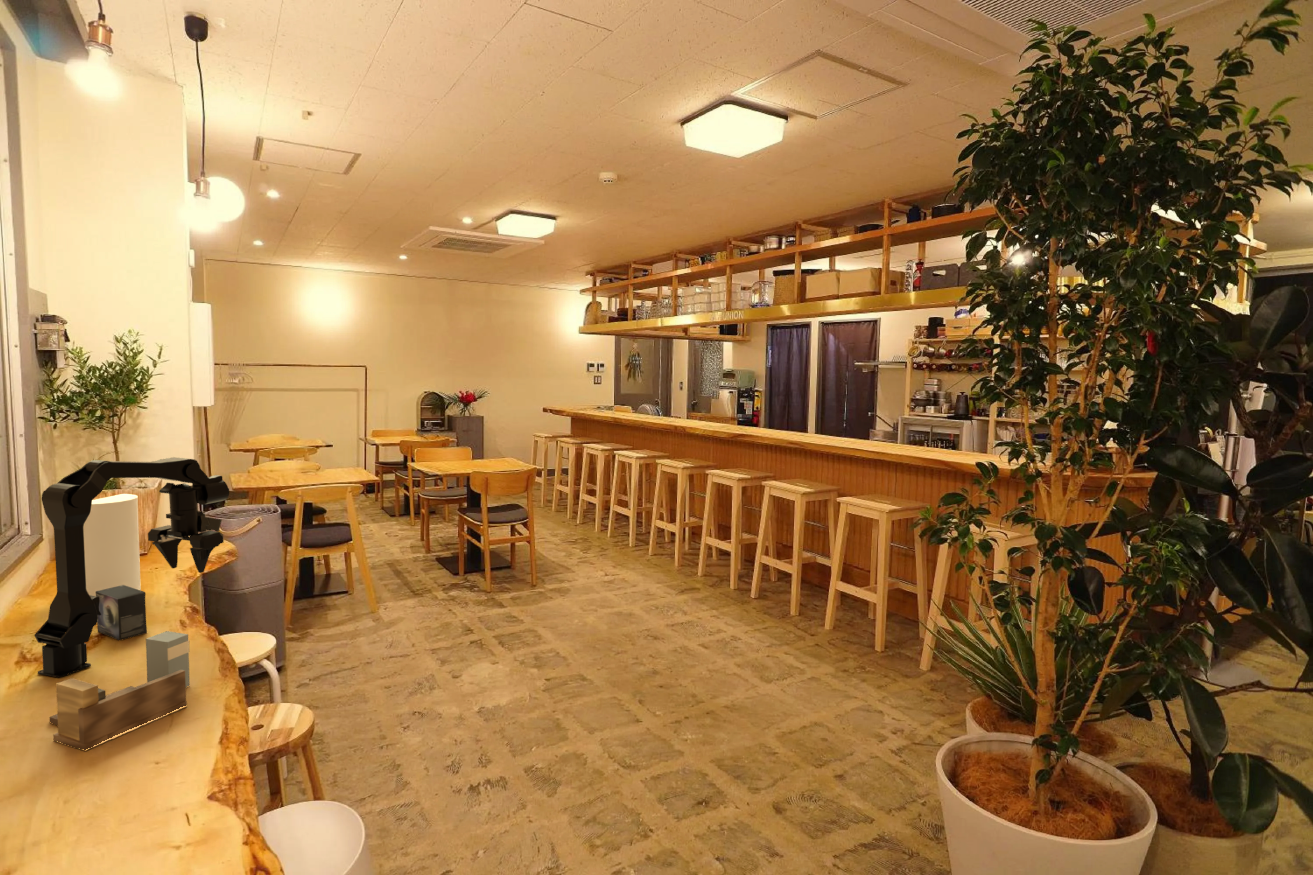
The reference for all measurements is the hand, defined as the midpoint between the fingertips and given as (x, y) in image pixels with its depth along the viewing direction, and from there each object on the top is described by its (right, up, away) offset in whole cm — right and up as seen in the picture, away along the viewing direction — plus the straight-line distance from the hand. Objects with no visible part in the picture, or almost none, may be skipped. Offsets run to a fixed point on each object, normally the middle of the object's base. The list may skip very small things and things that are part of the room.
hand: (187, 570), depth 173 cm
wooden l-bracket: (+16, -19, -45) cm, 51 cm away
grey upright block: (+18, -18, -32) cm, 41 cm away
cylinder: (-39, -12, +22) cm, 46 cm away
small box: (-14, -15, -3) cm, 21 cm away
